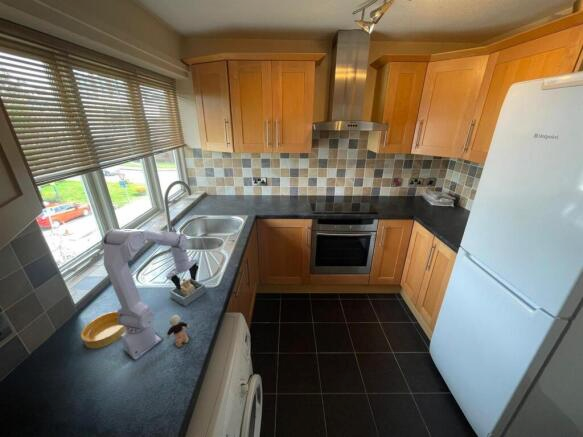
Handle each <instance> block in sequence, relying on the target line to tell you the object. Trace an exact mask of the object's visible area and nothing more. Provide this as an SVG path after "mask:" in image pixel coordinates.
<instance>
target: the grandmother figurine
mask: <svg viewBox="0 0 583 437" xmlns="http://www.w3.org/2000/svg"><path fill="white" fill-rule="evenodd" d="M169 324H170V326H171V327H170V328H168V331H167V332H166V333H167V334H166V339H170V337H171V335H172V334H173V337H174V341H175V346H176V347H177V348H180V347H182V346H183V344H187V343H188V342H189V336H187V333H186V331H185V328H186V329H187V330H189V329H190V325H189V324H188V323H186V322H183V321H181V317H180V315H178V314H175V315H172V316H171V317H170V319H169Z"/></svg>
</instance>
